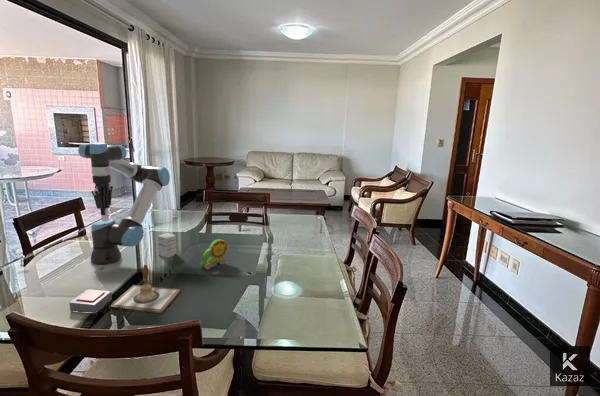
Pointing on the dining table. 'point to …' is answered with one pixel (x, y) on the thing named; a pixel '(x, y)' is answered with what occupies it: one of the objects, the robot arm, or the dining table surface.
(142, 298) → the hand bell
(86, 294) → the button
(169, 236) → the supplement box
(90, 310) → the button housing
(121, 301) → the drawing board
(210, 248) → the toy lion
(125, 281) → the dining table surface
